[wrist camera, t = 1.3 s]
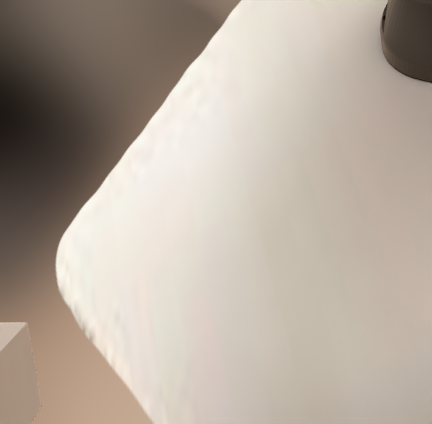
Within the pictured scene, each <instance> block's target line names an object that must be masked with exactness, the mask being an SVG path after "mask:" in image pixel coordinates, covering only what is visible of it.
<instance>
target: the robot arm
mask: <svg viewBox="0 0 432 424" xmlns="http://www.w3.org/2000/svg"><path fill="white" fill-rule="evenodd" d="M380 31H381V41H382V49H383V52H384V55H385V57H386V58H387V60H388V61H389V63H390V64H391V65H392V66H393V67H395V68H396V69H397V70H399V71H400V72H402V73H404V74H406V75H408V76H411V77H414V78H417V79H421V80H426V81H432V0H388V3H387V5H386V7H385V9H384V12H383V15H382V19H381V26H380ZM41 407H42V404H41V398H40V392H39V386H38V381H37V375H36V369H35V363H34V358H33V352H32V346H31V341H30V335H29V329H28V323H27V322H26V323H25V322H15V323H0V424H31V423H32V422H33V420H34V418H35V417H36V415H37V413H38V412H39V410H40V409H41Z"/></svg>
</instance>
